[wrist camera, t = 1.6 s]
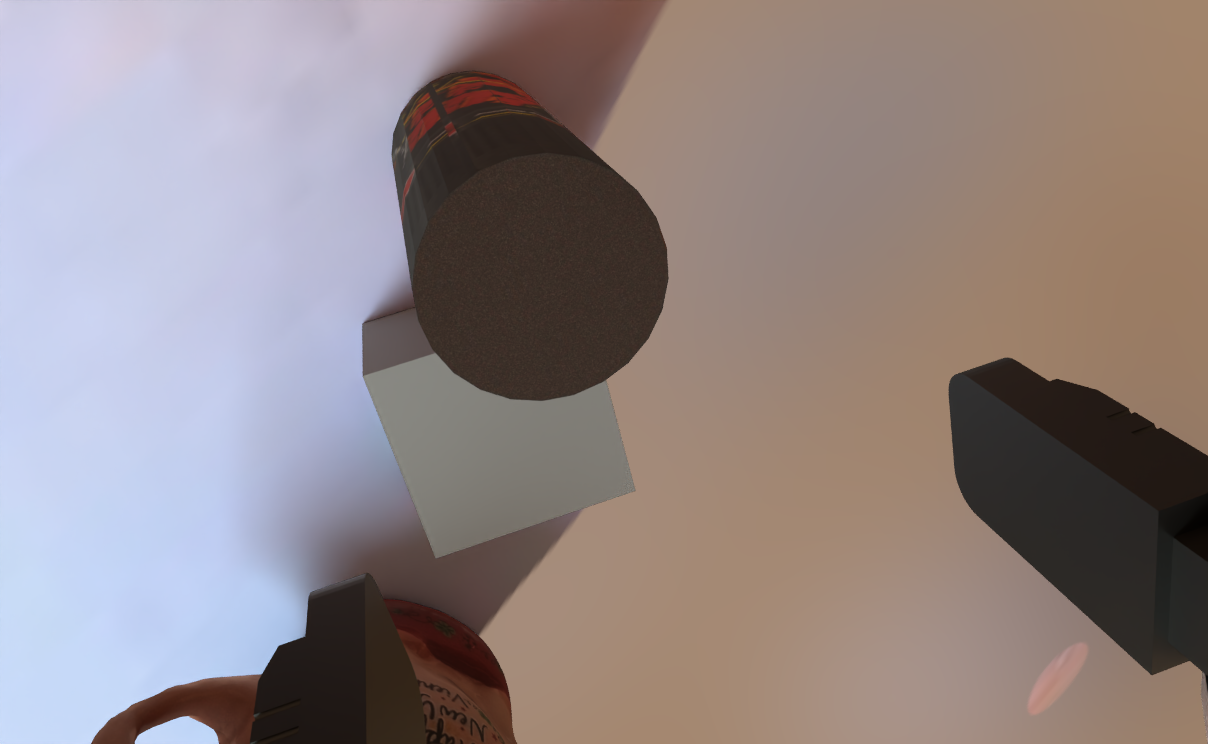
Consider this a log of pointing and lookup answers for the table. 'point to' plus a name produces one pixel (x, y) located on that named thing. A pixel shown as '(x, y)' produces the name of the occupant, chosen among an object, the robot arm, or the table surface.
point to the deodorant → (521, 242)
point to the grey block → (486, 443)
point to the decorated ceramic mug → (440, 661)
